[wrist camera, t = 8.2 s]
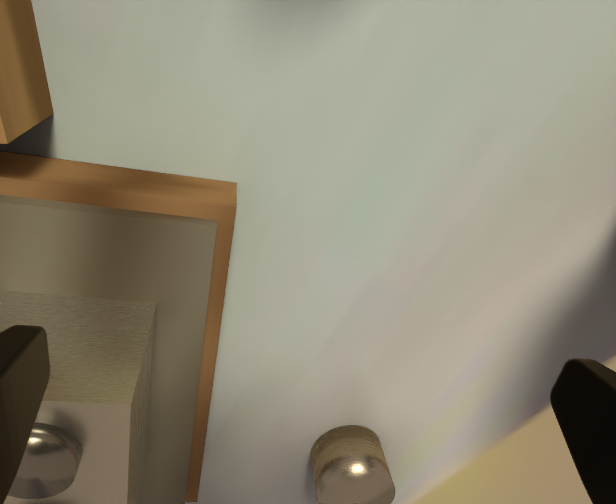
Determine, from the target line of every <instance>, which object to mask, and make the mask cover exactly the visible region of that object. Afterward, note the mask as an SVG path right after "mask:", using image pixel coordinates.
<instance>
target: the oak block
mask: <svg viewBox="0 0 616 504" xmlns="http://www.w3.org/2000/svg"><path fill="white" fill-rule="evenodd" d="M52 114H53V108H52V103H51V98H50V93H49V88H48V83H47V78H46V73H45V68H44V63H43V58H42V53H41V47H40V42H39V37H38V32H37V27H36V22H35V17H34V12H33V7H32V2H31V0H0V144H8V143H10V142H11V141H13V140H14V139H16V138H17V137H19V136H20V135H22V134H23V133H25V132H26V131H28V130H29V129H31V128H32V127H34V126H35V125H37V124H38V123H40V122H41V121H43V120H44V119H46V118H47V117H49V116H50V115H52Z"/></svg>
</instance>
